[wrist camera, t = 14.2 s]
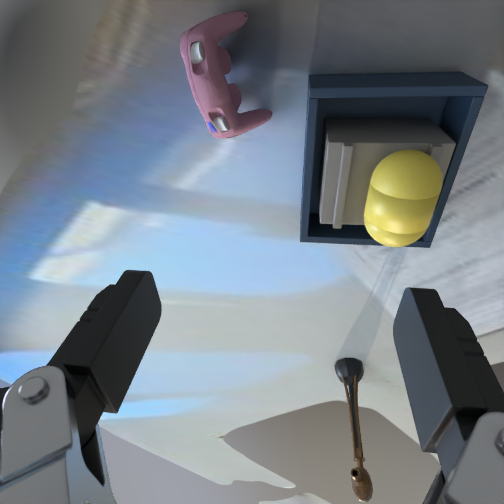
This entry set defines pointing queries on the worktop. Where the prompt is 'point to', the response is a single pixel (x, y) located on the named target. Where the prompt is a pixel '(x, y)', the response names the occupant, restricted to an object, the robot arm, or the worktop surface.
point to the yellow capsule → (402, 197)
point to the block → (369, 159)
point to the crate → (384, 106)
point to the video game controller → (217, 77)
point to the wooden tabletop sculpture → (355, 424)
